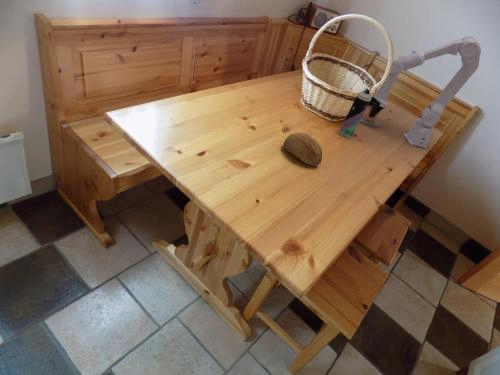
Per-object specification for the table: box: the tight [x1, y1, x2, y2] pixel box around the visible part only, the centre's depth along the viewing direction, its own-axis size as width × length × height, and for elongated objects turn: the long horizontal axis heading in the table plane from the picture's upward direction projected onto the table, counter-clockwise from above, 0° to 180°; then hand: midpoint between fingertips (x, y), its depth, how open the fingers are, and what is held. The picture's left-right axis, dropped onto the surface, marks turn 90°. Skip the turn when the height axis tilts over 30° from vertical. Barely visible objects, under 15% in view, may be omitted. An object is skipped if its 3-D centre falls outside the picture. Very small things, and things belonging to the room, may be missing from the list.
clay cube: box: [363, 105, 380, 122], centre depth 147 cm, size 5×5×5 cm
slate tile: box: [358, 116, 381, 129], centre depth 149 cm, size 10×10×1 cm
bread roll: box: [283, 132, 323, 167], centre depth 108 cm, size 10×15×8 cm, turn 49°
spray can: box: [339, 87, 372, 139], centre depth 127 cm, size 6×6×20 cm
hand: (369, 114), depth 148 cm, fingers closed on clay cube, 5 cm apart
